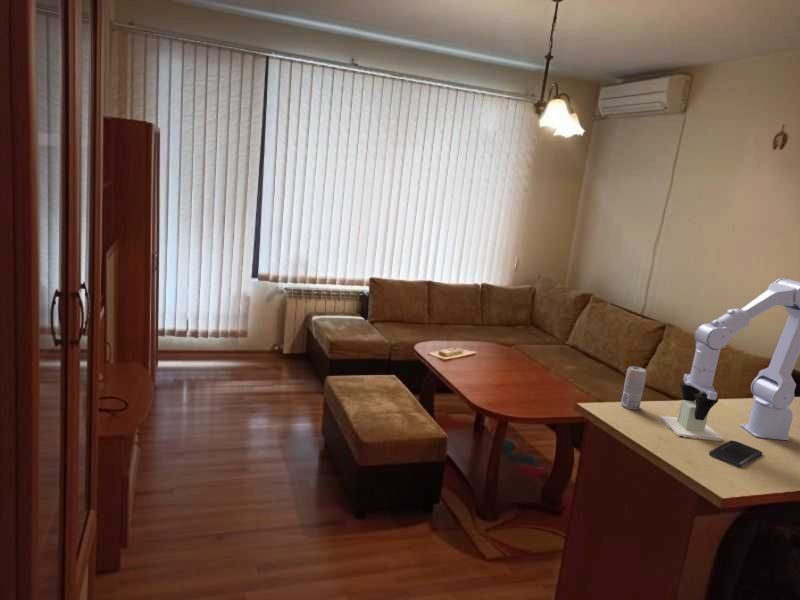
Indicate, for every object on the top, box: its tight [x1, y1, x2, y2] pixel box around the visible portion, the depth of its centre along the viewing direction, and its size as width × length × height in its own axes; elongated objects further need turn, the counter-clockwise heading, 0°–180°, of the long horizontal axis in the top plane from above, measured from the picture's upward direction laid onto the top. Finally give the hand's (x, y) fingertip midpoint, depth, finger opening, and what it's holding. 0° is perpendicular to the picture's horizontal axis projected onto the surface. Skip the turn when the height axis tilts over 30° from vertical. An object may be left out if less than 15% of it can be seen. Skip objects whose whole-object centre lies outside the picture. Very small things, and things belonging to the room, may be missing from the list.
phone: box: [708, 440, 763, 469], centre depth 148 cm, size 8×1×15 cm
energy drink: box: [620, 365, 647, 411], centre depth 173 cm, size 5×5×12 cm
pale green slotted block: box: [677, 399, 710, 432], centre depth 161 cm, size 5×5×7 cm
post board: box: [659, 415, 724, 442], centre depth 161 cm, size 12×12×5 cm
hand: (693, 414), depth 161 cm, fingers open, 6 cm apart
